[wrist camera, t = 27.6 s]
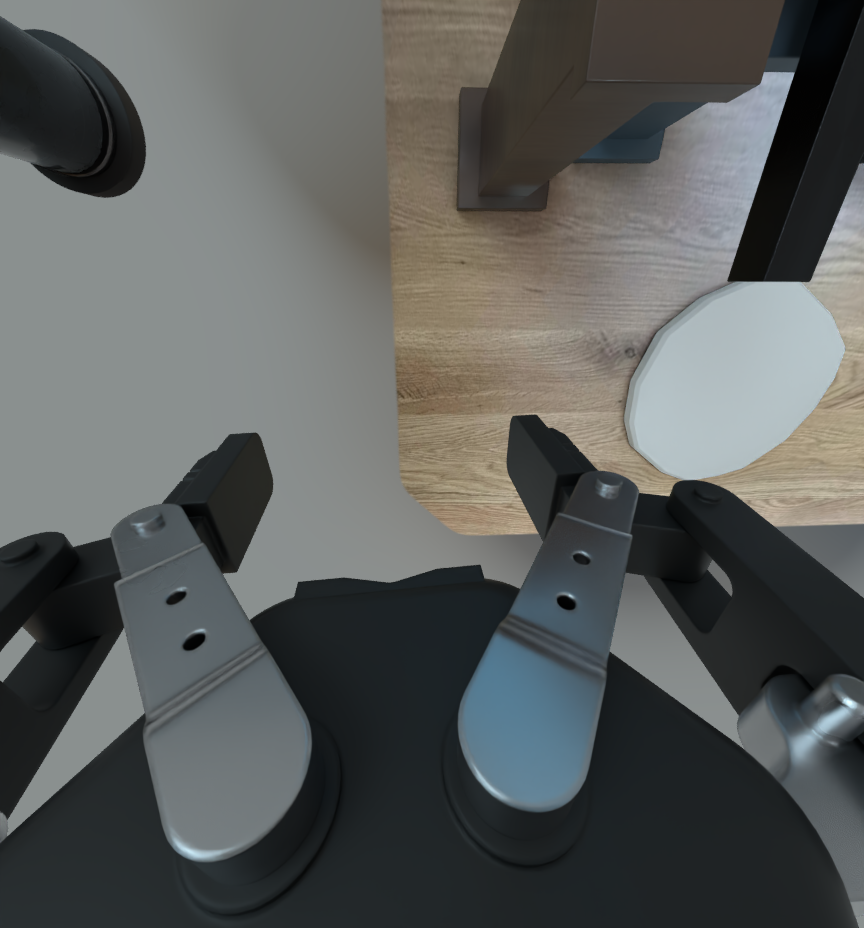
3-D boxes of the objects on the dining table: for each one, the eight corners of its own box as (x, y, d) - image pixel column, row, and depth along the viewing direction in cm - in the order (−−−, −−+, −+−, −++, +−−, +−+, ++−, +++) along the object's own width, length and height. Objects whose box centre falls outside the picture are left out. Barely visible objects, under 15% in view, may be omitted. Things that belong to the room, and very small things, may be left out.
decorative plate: (778, 225, 36) (895, 367, 43) (745, 230, 40) (858, 360, 47) (595, 423, 45) (717, 514, 52) (582, 412, 49) (697, 498, 56)
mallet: (786, 281, 23) (875, 282, 19) (677, 281, 23) (740, 282, 18) (979, -214, 15) (1219, -424, 10) (812, -221, 15) (986, -439, 10)
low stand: (648, 169, 37) (883, 59, 18) (571, 169, 37) (728, 56, 18) (678, 29, 33) (1028, -306, 14) (590, 27, 32) (825, -315, 14)
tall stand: (541, 216, 39) (804, 84, 12) (456, 216, 38) (540, 81, 12) (555, 88, 34) (1015, -546, 8) (459, 87, 34) (604, -575, 8)
